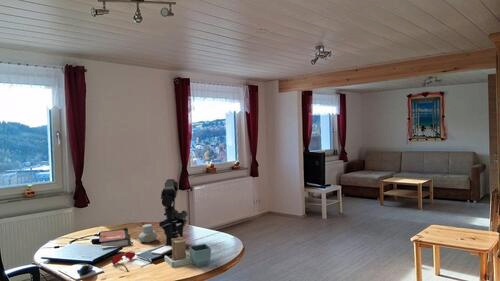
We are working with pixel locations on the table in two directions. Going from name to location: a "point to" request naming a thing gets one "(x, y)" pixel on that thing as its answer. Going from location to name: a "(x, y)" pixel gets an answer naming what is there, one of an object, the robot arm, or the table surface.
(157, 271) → the table surface
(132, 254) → the glasses
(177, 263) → the bay
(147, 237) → the air freshener
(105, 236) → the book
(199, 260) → the flower pot
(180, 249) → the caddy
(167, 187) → the robot arm
